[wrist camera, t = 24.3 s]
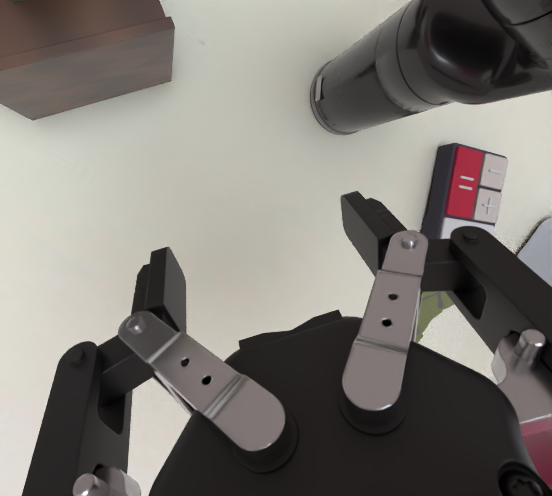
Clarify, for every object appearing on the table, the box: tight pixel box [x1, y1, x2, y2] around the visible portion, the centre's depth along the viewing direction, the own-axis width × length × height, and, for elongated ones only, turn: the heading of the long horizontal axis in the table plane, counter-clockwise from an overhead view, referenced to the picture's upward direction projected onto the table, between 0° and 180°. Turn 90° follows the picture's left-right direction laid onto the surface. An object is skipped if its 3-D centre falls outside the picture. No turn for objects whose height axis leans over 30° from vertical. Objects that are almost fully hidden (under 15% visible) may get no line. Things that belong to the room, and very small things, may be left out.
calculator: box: [421, 143, 508, 239], centre depth 52 cm, size 11×4×15 cm
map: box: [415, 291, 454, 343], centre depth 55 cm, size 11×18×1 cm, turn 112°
